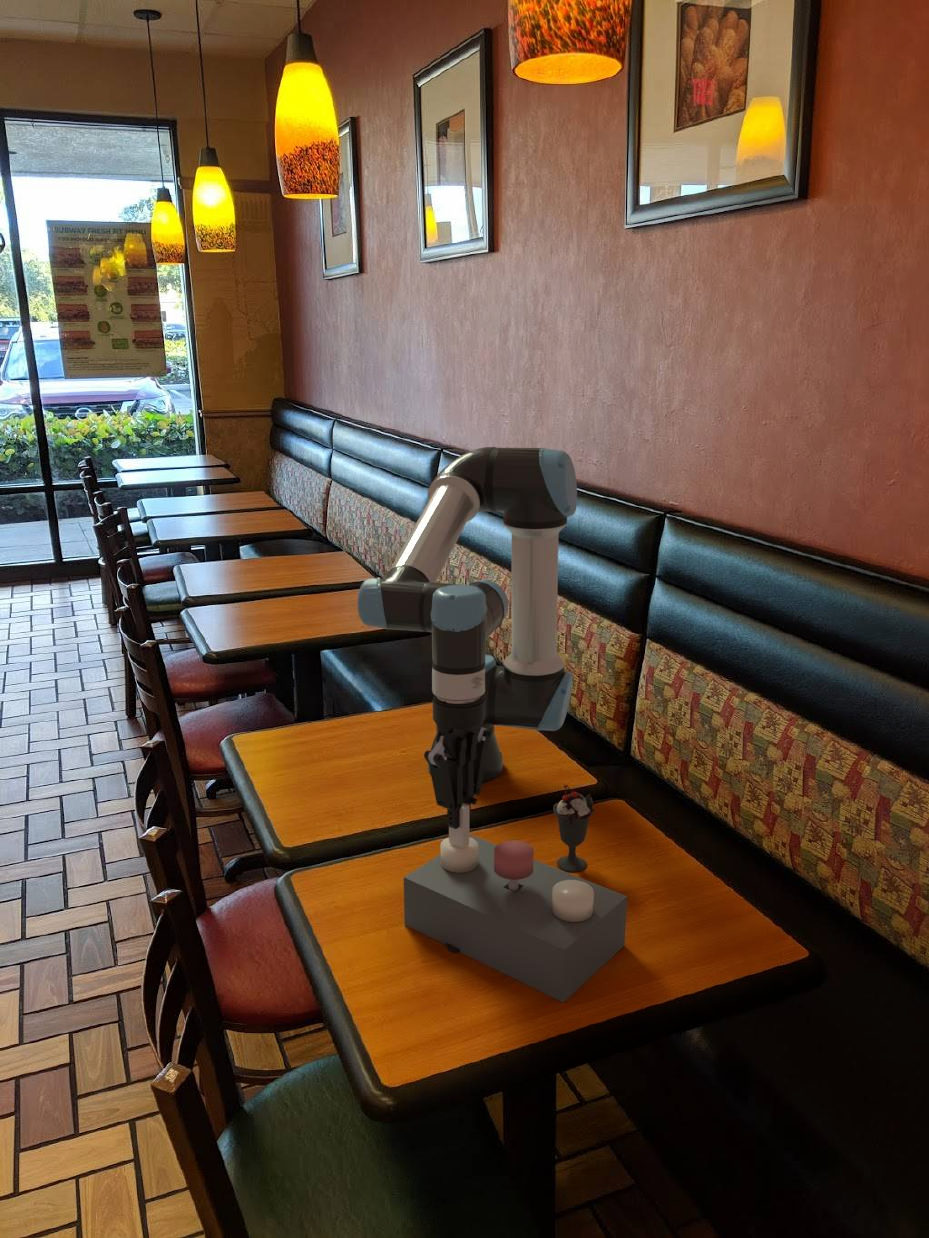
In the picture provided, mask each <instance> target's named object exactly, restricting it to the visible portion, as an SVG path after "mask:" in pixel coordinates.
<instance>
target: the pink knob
mask: <svg viewBox="0 0 929 1238" xmlns="http://www.w3.org/2000/svg"><path fill="white" fill-rule="evenodd" d="M496 845H497V846H496V847H495V849H494V871H495V873H496V874H497V875H498V876H500V877H502V878H505V879H509V890H510V891H513V892H517V891H518V880H519V879H524V878H527V877H529V876H530V875H531V874H532V873H533V863H534V860H535V858H534V856H535V855H534V853H535V852H534V851H535V850H534V848H533V846H532V845H530V843H527V842H524V841H520V840H506V841H502V842H500V843H498V844H496Z"/></svg>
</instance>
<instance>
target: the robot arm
mask: <svg viewBox="0 0 929 1238" xmlns="http://www.w3.org/2000/svg"><path fill="white" fill-rule="evenodd" d="M577 497H578V487H577V476H576V470H575V466H574V462H573V460H572V457H571V456H570V455H569V453H567V452H566V451H565V450H561V449H551V448H546V447H495V446H486V447H480V448H476V449H472V450H470V451H468V452H466V453H464V454H462V455H460V456H459V457H457V458H455V459H454V460H452V461H451V462H450V463H448V464H447V465H446V466H444V468H442V469H441V470H440V472H439V473H438V474H436V477H434V479H433V481H432V482H431V485H429V488H428V491H427V503H426V504H425V506H424V508H423V510H422V512H421V513H420V515H419V517H418V519H417V521H416V523H415V524H414V526H413V528H412V529H411V531H410V533H409V535H408V537H407V538H406V541H405V542H404V544H403V546H402V547H401V549H400V551H399V553H398V554H397V556H396V559H394V562H393V564H392V565H391V567H390V569H389V571H388V572H387V573H386V575H385V577H384V578H381V577H376V578H373V577H372V578H367V579H365V580H364V581H363V582H362V584H361V585H360V587H359V590H358V594H357V595H358V596H357V607H356V608H357V612H358V617H359V619H360V621H361V623H362V624H363V625H365V626H367V627H373V628H381V629H385V630H399V631H413V632H427V633H431V650H432V651H431V652H432V666H431V667H432V669H431V671H432V672H431V685H432V686H431V691H432V694H433V695H434V696H432V719H433V721H434V723H435V724H436V725H435V726H436V732H435V734H434V735H435V736H434V739H433V742H432V744H431V748H430V750H428V749H427V750H425V751H424V755H423V758H424V759H425V761H426V762H427V770H428V773H429V774H430V777H431V781H432V787H433V791H434V796H435V801H436V805H437V806H440V807H442V808H445V809H447V811H446V814H447V815H446V820H447V821H446V822H447V823H446V824H447V826H448V837H449V843H450V844H453V845H455V846H458V847H460V848H462V849H464V848H465V847H467V846H468V845H469V836H470V821H471V818H472V817H471V814H472V812H471V811H472V807H471V806H472V805H473V806H475V805H476V804H477V802H478V798H475V797H474V796H475V795H476V796H479V795H480V794H481V791H482V785H483V783H485V782H488V781H491V780H493V779H495V778H497V777H499V776H500V775H501V773H502V772H503V769H504V767H503V766H504V764H503V763H504V758H503V755H502V752H501V751H500V747H499V746H500V745H499V743H498V739H497V737H496V734H495V732H496V731H495V726H501V727H507V728H508V727H509V728H515V729H516V728H517V729H526V730H534V731H535V730H536V732H539V731H550V732H554V731H555V732H556V731H557V730H559V729H561V728H562V726H563V724H564V722H565V719H566V717H567V714H568V710H569V706H570V701H571V697H572V692H573V691H572V690H573V685H574V677H573V675H574V674H573V673H572V672H570V671H568V670H565V660H564V659H563V658H562V657H561V656H560V655H558V652H557V651H558V650H557V649H558V647H557V641H558V637H557V636H558V591H559V590H558V589H559V588H558V587H559V586H558V583H559V582H558V579H559V533H560V532H561V531H562V530H563V529H564V528H565V527H567V525H568V518H570V517H573V515H575V513H576V511H577V506H578V500H577ZM481 512H482V513H483V512H491V513H502V515H503V516H502V517H503V518H502V520H503V521H502V522H503V525H504V527H505V528H506V529H508V531H510V533H511V653H510V654H509V655H507V656H506V657H505V659H504V660H503V665H497V661H496V660H495V657H494V656H493V655H489V654H488V653H486V652H487V651H486V647H487V646H486V643H487V639H488V638H489V636H491V635H492V634H493V633H494V631H495V630H497V629H498V628H499V627H500V626H501V625H502V623H503V620H504V619H505V617H506V615H507V614H508V610H509V599H508V596H507V594H506V591H505V590H504V589H503V588H502V587H501V586H500V585H499V584H498V583H496V582H494V581H491V580H488V579H480V580H476V581H474V582H473V581H472V582H471V583H469V584H459V583H458V584H457V583H444V582H443V583H441V582H437V581H438V579H439V577H440V576H441V573H442V572H443V569H444V568H445V565H446V563H447V562H448V560H449V558H450V555H451V554H452V552H453V549H454V548H455V546H456V544H457V541H458V540H459V538H460V535H461V534H462V532H463V530H464V527H465V526H466V524H467V523H469V522H470V521H472V520H473V519H474V518H475V517H476V516H477V514H478V513H481Z"/></svg>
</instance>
